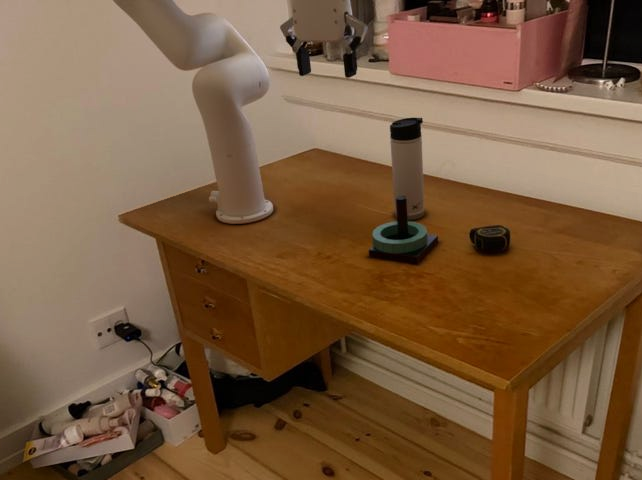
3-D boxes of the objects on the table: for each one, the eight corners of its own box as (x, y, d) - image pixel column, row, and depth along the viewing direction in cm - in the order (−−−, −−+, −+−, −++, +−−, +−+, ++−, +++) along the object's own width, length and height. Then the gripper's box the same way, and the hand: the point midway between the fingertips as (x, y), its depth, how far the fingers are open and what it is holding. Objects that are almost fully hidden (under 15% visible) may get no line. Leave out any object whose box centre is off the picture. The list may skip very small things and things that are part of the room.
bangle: (363, 249, 133) (362, 239, 132) (387, 227, 141) (386, 218, 140) (414, 256, 129) (413, 246, 128) (435, 234, 137) (435, 224, 136)
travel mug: (423, 221, 146) (419, 123, 135) (392, 220, 147) (386, 123, 136) (428, 209, 151) (424, 114, 140) (398, 209, 152) (392, 115, 141)
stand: (369, 257, 134) (364, 204, 128) (392, 236, 141) (388, 185, 135) (417, 264, 130) (414, 210, 124) (438, 242, 137) (436, 190, 131)
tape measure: (503, 239, 136) (503, 220, 134) (514, 253, 130) (515, 234, 128) (468, 243, 135) (468, 225, 133) (479, 258, 130) (479, 239, 128)
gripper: (371, -36, 118) (379, 72, 128) (285, -33, 125) (299, 69, 135) (350, -30, 113) (359, 81, 122) (261, -28, 120) (277, 78, 129)
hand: (327, 75), depth 128 cm, fingers open, 9 cm apart
